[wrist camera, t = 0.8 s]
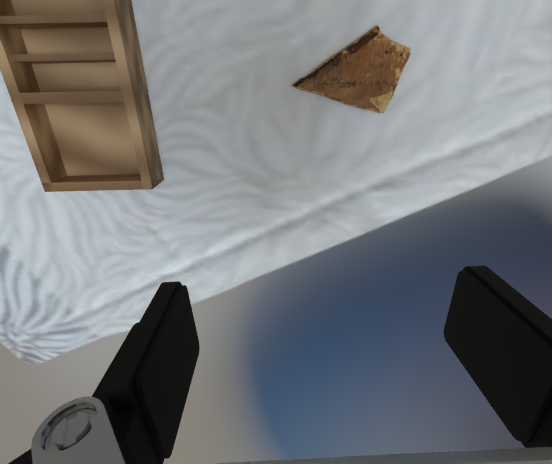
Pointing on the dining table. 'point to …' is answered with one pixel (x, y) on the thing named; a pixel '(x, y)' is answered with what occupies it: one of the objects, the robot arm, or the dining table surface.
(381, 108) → the shard
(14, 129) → the dining table surface
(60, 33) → the wooden shelf
